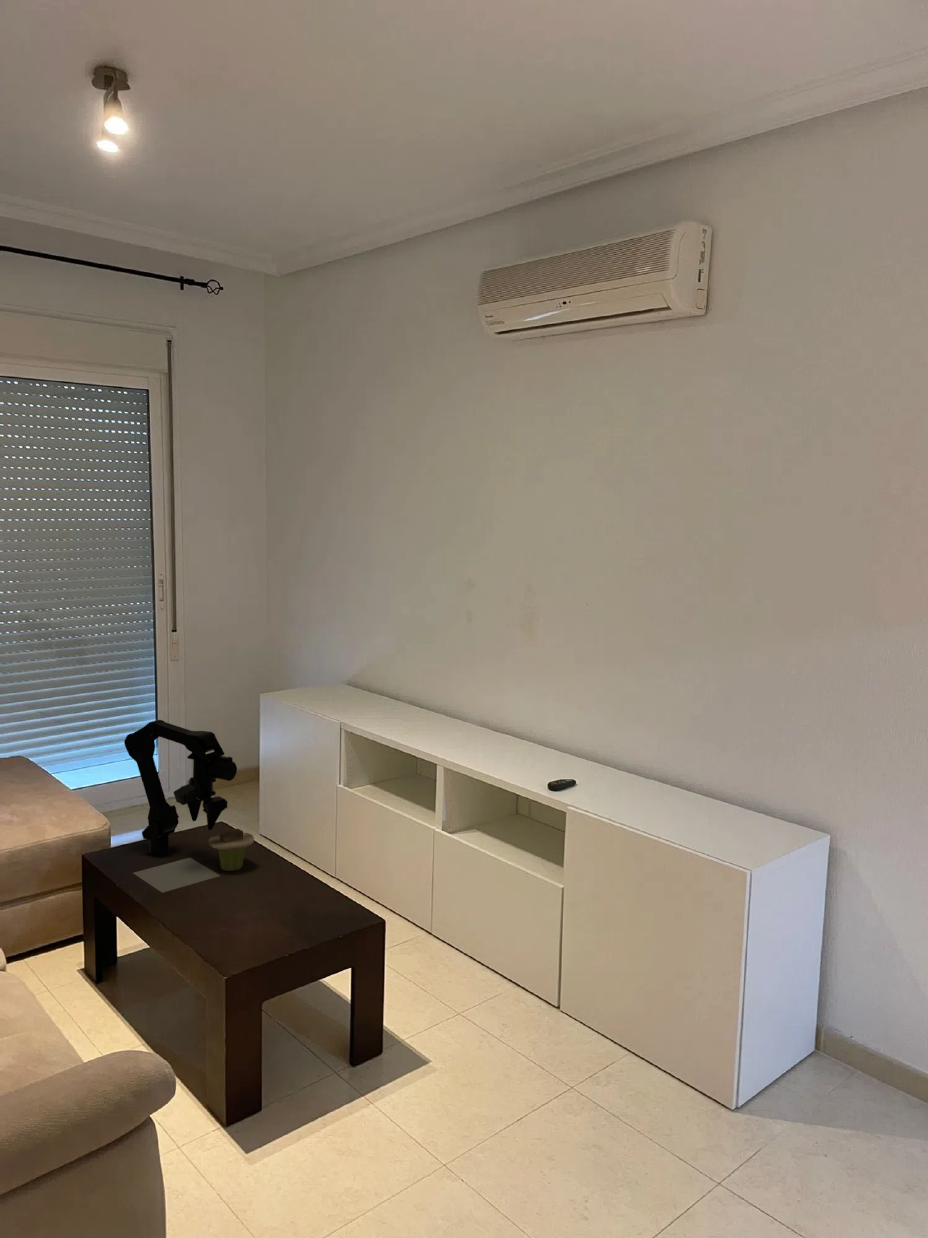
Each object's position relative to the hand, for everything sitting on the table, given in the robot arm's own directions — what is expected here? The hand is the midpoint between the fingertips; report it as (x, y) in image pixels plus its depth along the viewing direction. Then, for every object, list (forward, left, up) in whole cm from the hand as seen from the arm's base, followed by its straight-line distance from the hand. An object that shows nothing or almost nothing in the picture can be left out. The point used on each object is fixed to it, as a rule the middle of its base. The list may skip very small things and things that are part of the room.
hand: (202, 825), depth 270 cm
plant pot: (+8, +5, -13) cm, 16 cm away
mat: (+3, -10, -13) cm, 16 cm away
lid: (+8, +5, -4) cm, 10 cm away
